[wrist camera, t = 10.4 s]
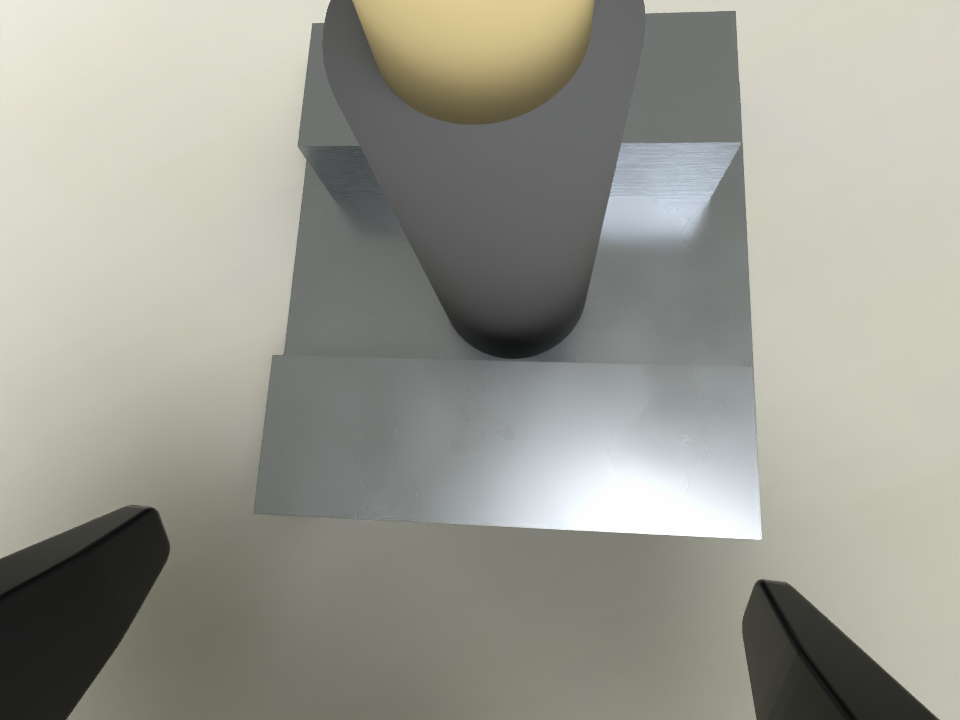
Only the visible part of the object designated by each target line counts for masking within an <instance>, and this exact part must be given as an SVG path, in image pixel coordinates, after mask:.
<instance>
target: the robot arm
mask: <svg viewBox="0 0 960 720" xmlns="http://www.w3.org/2000/svg"><path fill="white" fill-rule="evenodd" d="M169 551H170V544H169V540H168V537H167V534H166V532H165V529H164V526H163V523H162V521H161V518H160V515H159V513H158V511H157V510H156V509H155V508H152V507H147V506H137V505H129V506H126V507H123V508H121V509H118V510H116V511H114V512H111V513H109V514H106V515H104V516H102V517H99V518H97V519H94V520H92V521H90V522H87V523H85V524H82V525H80V526H78V527H75V528H73V529H70V530H68V531H66V532H63V533H61V534H58V535H56V536H54V537H51V538H49V539H46V540H44V541H42V542H39V543H37V544H34V545H32V546H30V547H27V548H25V549H22V550H20V551H18V552H15V553H13V554H10V555H8V556H6V557H3V558H1V559H0V720H66V719H67V718H68V716H69V715H70V713H71V712H72V711H73V709H74V708H75V706H76V705H77V704H78V702H79V701H80V699H81V698H82V696H83V695H84V694H85V692H86V691H87V689H88V688H89V687H90V685H91V684H92V682H93V681H94V679H95V678H96V677H97V675H98V674H99V672H100V671H101V669H102V668H103V667H104V665H105V664H106V662H107V661H108V660H109V658H110V657H111V655H112V654H113V652H114V651H115V649H116V648H117V646H118V645H119V643H120V642H121V640H122V638H123V637H124V635H125V633H126V632H127V630H128V629H129V627H130V625H131V623H132V622H133V620H134V618H135V616H136V614H137V613H138V611H139V609H140V607H141V606H142V604H143V602H144V600H145V599H146V597H147V595H148V593H149V592H150V590H151V588H152V586H153V585H154V583H155V581H156V579H157V577H158V576H159V574H160V572H161V570H162V569H163V567H164V565H165V563H166V561H167V559H168V556H169ZM742 633H743V641H744V647H745V653H746V659H747V665H748V671H749V677H750V683H751V689H752V695H753V701H754V707H755V712H756V718H757V720H939V719H938V718H937V717H936V716H935V715H934V714H933V713H931V712H930V711H929V710H928V709H927V708H926V707H925V706H924V705H923V704H922V703H920V702H919V701H918V700H917V699H916V698H915V697H914V696H913V695H912V694H911V693H909V692H908V691H907V690H906V689H905V688H904V687H903V686H902V685H901V684H899V683H898V682H897V681H896V680H895V679H894V678H893V677H892V676H891V675H890V674H888V673H887V672H886V671H885V670H884V669H883V668H882V667H881V666H880V665H879V664H877V663H876V662H875V661H874V660H873V659H872V658H871V657H870V656H869V655H867V654H866V653H865V652H864V651H863V650H862V649H861V648H860V647H859V646H858V645H856V644H855V643H854V642H853V641H852V640H851V639H850V638H849V637H848V636H847V635H845V634H844V633H843V632H842V631H841V630H840V629H839V628H838V627H837V626H835V625H834V624H833V623H832V622H831V621H830V620H829V619H828V618H827V617H826V616H824V615H823V614H822V613H821V612H820V611H819V610H818V609H817V608H816V607H815V606H813V605H812V604H811V603H810V602H809V601H808V600H807V599H806V598H805V597H803V596H802V595H801V594H800V593H799V592H798V591H797V590H796V589H795V588H794V587H792V586H791V585H789V584H788V583H786V582H780V581H772V580H764V579H762V580H758V581H757V582H756V583H755V585H754V587H753V590H752V593H751V596H750V599H749V602H748V604H747V607H746V610H745V613H744V616H743V622H742Z"/></svg>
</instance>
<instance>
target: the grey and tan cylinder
mask: <svg viewBox="0 0 960 720" xmlns="http://www.w3.org/2000/svg"><path fill="white" fill-rule="evenodd" d="M645 25H646V22H645V7H644V1H643V0H331V1H330V3H329V6H328V9H327V13H326V18H325V23H324V27H323V43H322V48H323V60H324V66H325V70H326V75H327V79H328V82H329V85H330V87H331V89H332V92H333V94H334V97H335V99H336V101H337V103H338V105H339V107H340V109H341V111H342V113H343V114H344V116H345V118H346V120H347V122H348V124H349V126H350V128H351V130H352V132H353V134H354V136H355V138H356V140H357V142H358V144H359V146H360V147H361V149H362V151H363V153H364V155H365V157H366V159H367V161H368V163H369V165H370V167H371V169H372V171H373V173H374V175H375V177H376V179H377V181H378V182H379V184H380V186H381V188H382V190H383V192H384V194H385V196H386V198H387V200H388V202H389V204H390V206H391V208H392V210H393V212H394V214H395V215H396V217H397V219H398V221H399V223H400V225H401V227H402V229H403V231H404V233H405V235H406V237H407V239H408V241H409V243H410V245H411V247H412V248H413V250H414V252H415V254H416V256H417V258H418V260H419V262H420V264H421V266H422V268H423V270H424V272H425V274H426V276H427V278H428V280H429V281H430V283H431V285H432V287H433V289H434V291H435V293H436V295H437V297H438V299H439V301H440V303H441V305H442V307H443V309H444V311H445V313H446V315H447V316H448V318H449V320H450V322H451V324H452V326H453V327H454V329H455V330H456V331H457V333H458V334H459V335H460V336H461V337H462V338H463V339H464V340H465V341H466V342H467V343H468V344H470V345H471V346H472V347H474V348H476V349H477V350H479V351H481V352H483V353H486V354H488V355H491V356H495V357H499V358H506V359H521V358H528V357H532V356H536V355H539V354H541V353H544V352H546V351H548V350H550V349H552V348H553V347H555V346H556V345H558V344H559V343H560V342H562V341H563V340H564V339H565V338H566V337H567V336H568V335H569V334H570V333H571V331H572V330H573V329H574V328H575V326H576V325H577V323H578V321H579V319H580V317H581V315H582V312H583V310H584V306H585V302H586V298H587V293H588V289H589V284H590V280H591V275H592V271H593V266H594V262H595V258H596V253H597V249H598V244H599V240H600V235H601V231H602V226H603V222H604V218H605V213H606V209H607V204H608V200H609V195H610V191H611V187H612V182H613V178H614V173H615V169H616V164H617V160H618V155H619V151H620V147H621V142H622V138H623V133H624V129H625V124H626V120H627V115H628V111H629V107H630V102H631V98H632V93H633V89H634V84H635V80H636V75H637V71H638V67H639V62H640V58H641V53H642V49H643V44H644V36H645Z"/></svg>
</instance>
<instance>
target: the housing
mask: <svg viewBox="0 0 960 720" xmlns="http://www.w3.org/2000/svg"><path fill="white" fill-rule="evenodd" d="M645 22H646V25H645V36H644V44H643V49H642V53H641V58H640V62H639V67H638V71H637V75H636V80H635V84H634V89H633V93H632V98H631V102H630V107H629V111H628V115H627V120H626V124H625V129H624V133H623V138H622V142H621V147H620V151H619V155H618V160H617V164H616V169H615V173H614V178H613V182H612V187H611V191H610V195H609V200H608V204H607V209H606V213H605V218H604V222H603V226H602V231H601V235H600V240H599V244H598V249H597V253H596V258H595V262H594V266H593V271H592V275H591V280H590V284H589V289H588V293H587V298H586V302H585V306H584V310H583V312H582V315H581V317H580V319H579V321H578V323H577V325H576V326H575V328H574V329H573V330H572V331H571V333H570V334H569V335H568V336H567V337H566V338H565V339H564V340H563V341H562V342H560V343H559V344H558V345H556V346H555V347H553V348H552V349H550V350H548V351H546V352H544V353H541V354H539V355H536V356H532V357H528V358H521V359H506V358H499V357H495V356H491V355H488V354H486V353H483V352H481V351H479V350H477V349H476V348H474V347H472V346H471V345H470V344H468V343H467V342H466V341H465V340H464V339H463V338H462V337H461V336H460V335H459V334H458V333H457V331H456V330H455V329H454V327H453V326H452V324H451V322H450V320H449V318H448V316H447V315H446V313H445V311H444V309H443V307H442V305H441V303H440V301H439V299H438V297H437V295H436V293H435V291H434V289H433V287H432V285H431V283H430V281H429V280H428V278H427V276H426V274H425V272H424V270H423V268H422V266H421V264H420V262H419V260H418V258H417V256H416V254H415V252H414V250H413V248H412V247H411V245H410V243H409V241H408V239H407V237H406V235H405V233H404V231H403V229H402V227H401V225H400V223H399V221H398V219H397V217H396V215H395V214H394V212H393V210H392V208H391V206H390V204H389V202H388V200H387V198H386V196H385V194H384V192H383V190H382V188H381V186H380V184H379V182H378V181H377V179H376V177H375V175H374V173H373V171H372V169H371V167H370V165H369V163H368V161H367V159H366V157H365V155H364V153H363V151H362V149H361V147H360V146H359V144H358V142H357V140H356V138H355V136H354V134H353V132H352V130H351V128H350V126H349V124H348V122H347V120H346V118H345V116H344V114H343V113H342V111H341V109H340V107H339V105H338V103H337V101H336V99H335V97H334V94H333V92H332V89H331V87H330V85H329V82H328V79H327V75H326V70H325V66H324V60H323V48H322V43H323V27H324V23H312V31H311V40H310V48H309V56H308V65H307V73H306V81H305V90H304V98H303V106H302V115H301V123H300V131H299V140H298V148H299V149H300V151H301V152H302V153H303V155H304V156H305V158H306V159H307V162H306V170H305V179H304V188H303V196H302V205H301V213H300V222H299V231H298V239H297V248H296V257H295V265H294V274H293V282H292V291H291V300H290V308H289V317H288V326H287V334H286V343H285V351H284V355H273V356H272V365H271V373H270V381H269V390H268V398H267V406H266V415H265V423H264V431H263V440H262V448H261V456H260V465H259V473H258V481H257V490H256V498H255V506H254V514H269V515H289V516H308V517H328V518H347V519H367V520H386V521H406V522H425V523H445V524H464V525H484V526H503V527H523V528H542V529H562V530H581V531H601V532H620V533H640V534H659V535H679V536H698V537H718V538H737V539H757V540H761V535H762V533H761V512H760V492H759V471H758V451H757V430H756V410H755V390H754V369H753V349H752V328H751V308H750V287H749V267H748V246H747V226H746V206H745V185H744V165H743V144H742V124H741V103H740V83H739V72H738V51H737V31H736V11H718V12H684V13H650V14H645Z"/></svg>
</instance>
